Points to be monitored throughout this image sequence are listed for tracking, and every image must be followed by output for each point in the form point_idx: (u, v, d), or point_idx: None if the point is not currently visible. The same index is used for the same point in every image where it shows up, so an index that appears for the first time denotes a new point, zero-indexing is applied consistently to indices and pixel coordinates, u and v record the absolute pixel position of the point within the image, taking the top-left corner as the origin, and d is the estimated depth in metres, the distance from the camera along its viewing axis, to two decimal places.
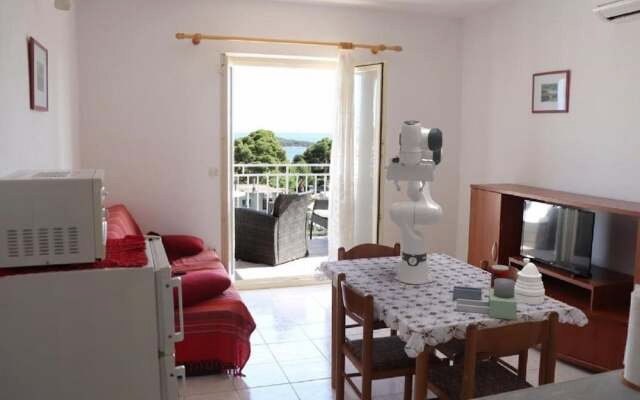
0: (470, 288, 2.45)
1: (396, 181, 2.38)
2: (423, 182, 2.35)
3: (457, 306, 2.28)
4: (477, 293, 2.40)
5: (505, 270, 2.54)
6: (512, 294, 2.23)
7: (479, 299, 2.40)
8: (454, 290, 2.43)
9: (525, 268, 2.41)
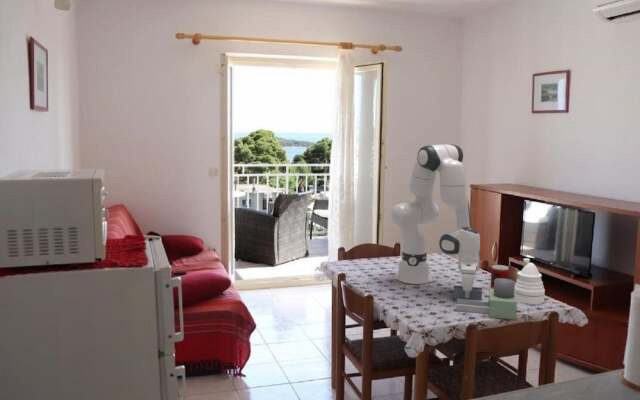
0: None
1: None
2: None
3: (457, 306, 2.28)
4: (477, 293, 2.40)
5: (505, 270, 2.54)
6: (512, 294, 2.23)
7: (479, 299, 2.40)
8: (454, 290, 2.43)
9: (525, 268, 2.41)
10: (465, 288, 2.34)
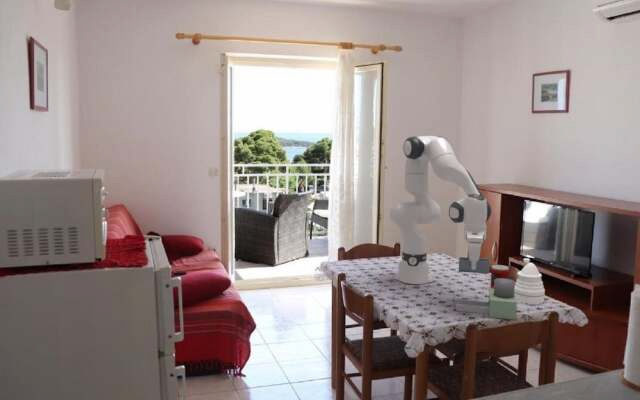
0: None
1: None
2: None
3: (457, 306, 2.28)
4: (485, 264, 2.25)
5: (505, 270, 2.54)
6: (512, 294, 2.23)
7: (487, 270, 2.25)
8: (460, 261, 2.27)
9: (525, 268, 2.41)
10: (472, 258, 2.19)
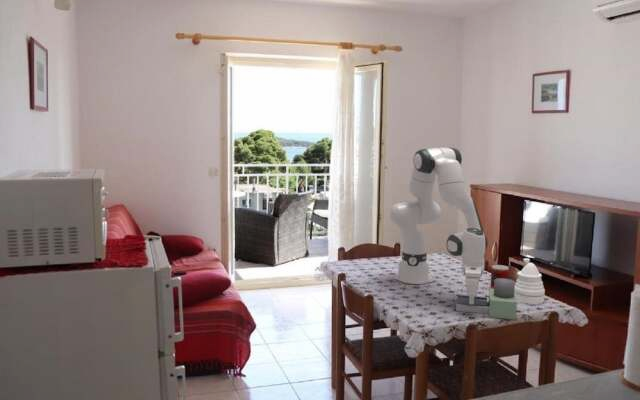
0: (475, 297, 2.32)
1: None
2: None
3: (457, 306, 2.28)
4: (482, 303, 2.27)
5: (505, 270, 2.54)
6: (512, 294, 2.23)
7: None
8: (458, 299, 2.29)
9: (525, 268, 2.41)
10: (469, 293, 2.20)
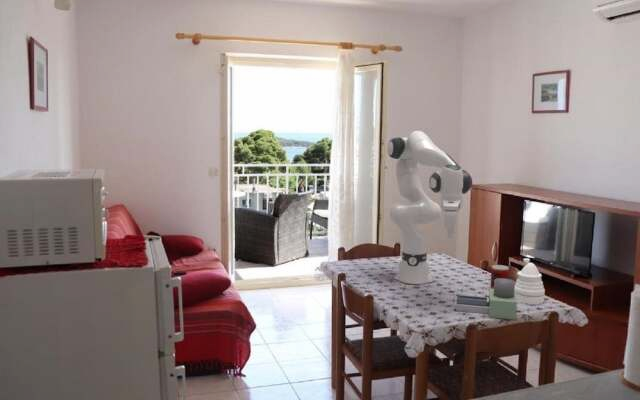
0: (475, 297, 2.32)
1: None
2: None
3: (457, 306, 2.28)
4: (482, 303, 2.27)
5: (505, 270, 2.54)
6: (512, 294, 2.23)
7: None
8: (458, 299, 2.29)
9: (525, 268, 2.41)
10: (447, 225, 2.26)
